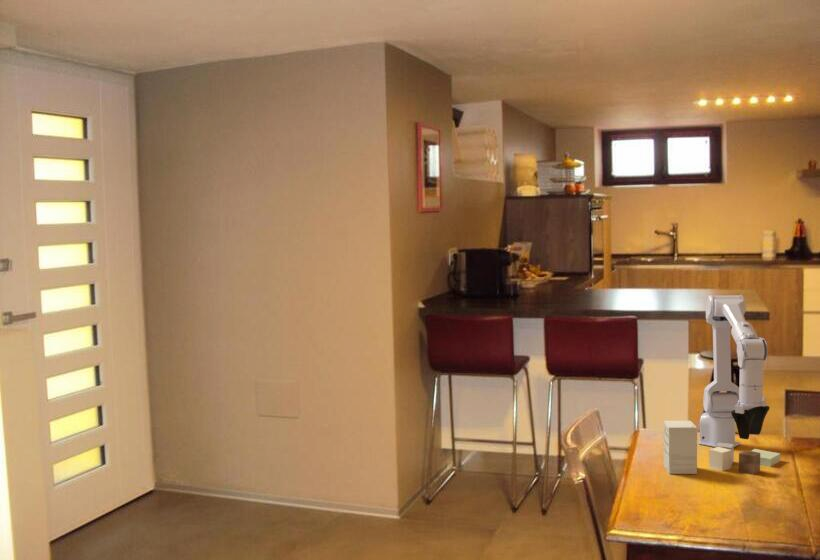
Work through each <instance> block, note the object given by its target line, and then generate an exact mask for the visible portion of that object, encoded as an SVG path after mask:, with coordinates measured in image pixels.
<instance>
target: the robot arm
mask: <svg viewBox="0 0 820 560" xmlns="http://www.w3.org/2000/svg"><path fill="white" fill-rule="evenodd" d="M746 305H747V303H746V298H745V297H744V296H743V295H742V294H738V295H736V294H735V295H712V294H710V295H708V296H707V297H706V301H705V319H706V323H707V324H710V325H711V328H712V348H713V349H712V350H713V351H712V352H713V353H712V355H713V356H712V357H713V381H711V382H709V384H708V385H706V386H705V387H704V390H703V396H702V398H703V400H702V404H703V405H702V406H703V409H704V412H703V413H702V414H701V416H700V419H699V430H698V431H699V432H698V433H699V437H698V439H699V441H697V445H703V446H708V447H713V448H716V445H717V444H718V442H720V443H728V444H734V448H736V447H737V446H739V445H741V442H739V441H736V428H737V433H738V437H739V439H742V440H749V439H750V433H752V434H753V433H754V434H761V432H762V428H763V424H764V422H765V419H766V417H767V414H768V412H769V410H770V406H769V405H768V403H767V402H766V399H767V398H766V396H764V393H763V391H764V361H766V360H767V358H768V344H767V341H766V339H765V338H763V337H761V336H758V333H756V331H755V328H754V326H753V325H752V323H750V322H749V321H746V318H745V314H746V309H747V307H746ZM731 327H732V328H731ZM731 336H732V338H733V341H734V342H735V345H736V355H737V365H738V367H739V381H738V382H739V383H738V384H739V386H738V385H737V384H735V383H734V382H732V364H731V363H732V358H731V356H732V354H731Z"/></svg>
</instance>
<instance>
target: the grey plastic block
mask: <svg viewBox="0 0 820 560" xmlns="http://www.w3.org/2000/svg"><path fill="white" fill-rule="evenodd" d="M716 447H721V448H725V449H729V450H732V453H731V466H732V465H733V463H734V461H735V460H734V459H735V457H734V453H735V450H734V449H735V447H734V444H728V443H720V442H718V444H717V445H716ZM716 447H715V448H716Z"/></svg>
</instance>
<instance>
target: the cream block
mask: <svg viewBox="0 0 820 560" xmlns="http://www.w3.org/2000/svg"><path fill="white" fill-rule="evenodd" d="M708 451H709V452H708V455H709V456H708V457H709V458H708V459H709V461H708V468H710V469H713V470H717V471H720V472H725V471H726V470H730V469H732V465H731V453H732V450H729V449H725V448H721V447H713V448H709V450H708Z"/></svg>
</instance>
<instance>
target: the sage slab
mask: <svg viewBox="0 0 820 560" xmlns="http://www.w3.org/2000/svg"><path fill="white" fill-rule="evenodd" d="M751 451H753V452H758V453H760V466H763V467H769V468H771V467H773V466H774V465H776V464H778V463H779V462H780V461H781V453H780V452H774V451H767V450H764V449H759V448H753V449H752V450H751Z"/></svg>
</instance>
